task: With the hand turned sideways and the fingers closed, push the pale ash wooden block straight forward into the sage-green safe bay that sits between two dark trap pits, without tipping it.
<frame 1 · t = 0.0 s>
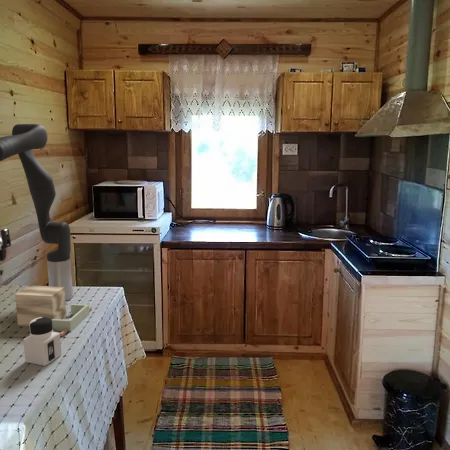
ash block: (42, 320, 170), on the table
trap box: (70, 322, 169), on the table
container: (43, 359, 141), on the table
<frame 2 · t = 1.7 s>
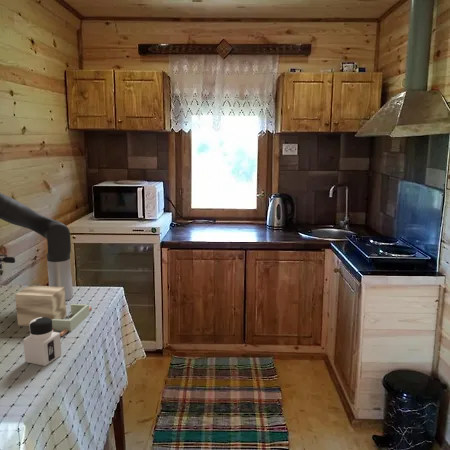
hand: (8, 263, 167), 22 cm above the table, tool horizontal, fingers open, 8 cm apart
nothing on the table moved.
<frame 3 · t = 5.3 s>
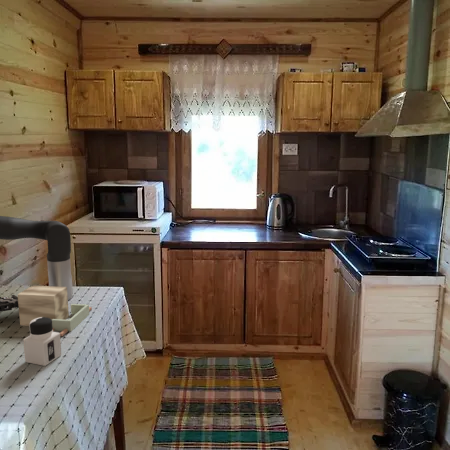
hand: (26, 304, 170), 6 cm above the table, tool horizontal, fingers closed
ash block: (45, 320, 170), on the table, touching gripper
everything else where it was.
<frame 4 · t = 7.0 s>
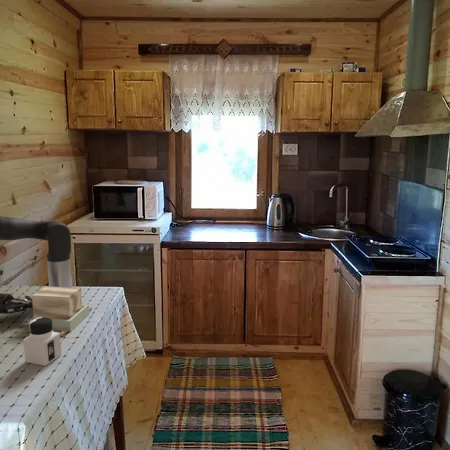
hand: (40, 305, 169), 6 cm above the table, tool horizontal, fingers closed
ash block: (59, 321, 169), on the table
everything else where it was.
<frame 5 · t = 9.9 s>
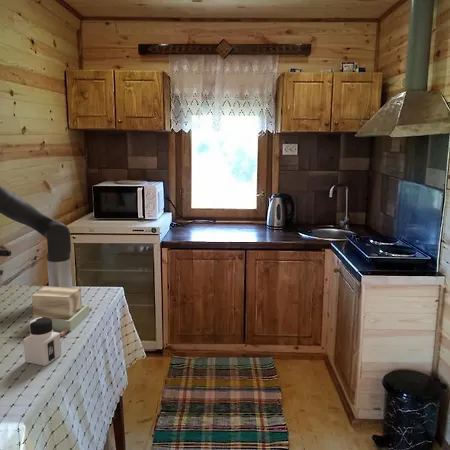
hand: (10, 253, 167), 26 cm above the table, tool horizontal, fingers closed
nothing on the table moved.
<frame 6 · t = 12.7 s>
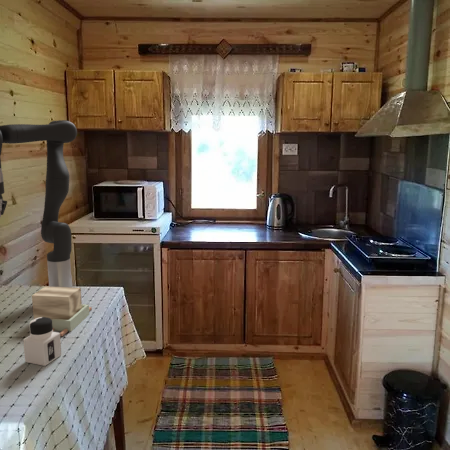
nothing on the table moved.
at the end: ash block 0.8 cm from the target spot, on the table; ash block tilted 0° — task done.
